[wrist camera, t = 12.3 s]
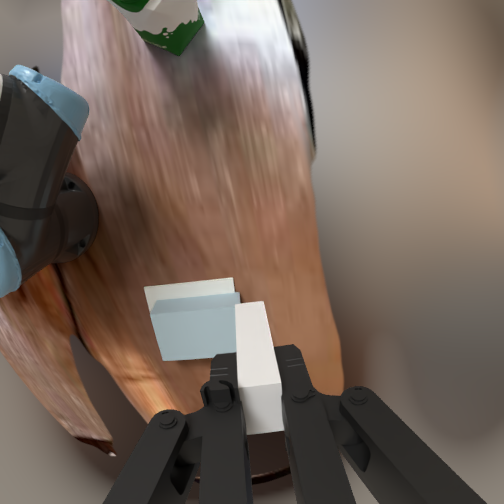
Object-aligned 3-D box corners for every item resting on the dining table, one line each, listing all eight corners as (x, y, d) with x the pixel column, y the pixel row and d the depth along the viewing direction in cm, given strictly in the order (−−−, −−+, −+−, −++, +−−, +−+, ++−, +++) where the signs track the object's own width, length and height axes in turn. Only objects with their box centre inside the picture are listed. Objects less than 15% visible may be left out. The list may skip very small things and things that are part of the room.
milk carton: (136, 44, 38) (86, -11, 19) (168, 2, 36) (138, -67, 17) (181, 63, 40) (150, 8, 21) (213, 20, 38) (204, -51, 19)
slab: (245, 337, 53) (168, 344, 53) (239, 291, 51) (156, 300, 50) (246, 354, 49) (163, 360, 48) (240, 305, 46) (149, 314, 46)
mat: (162, 354, 54) (162, 356, 54) (144, 286, 50) (143, 287, 50) (242, 348, 55) (242, 349, 54) (232, 277, 50) (232, 278, 50)
